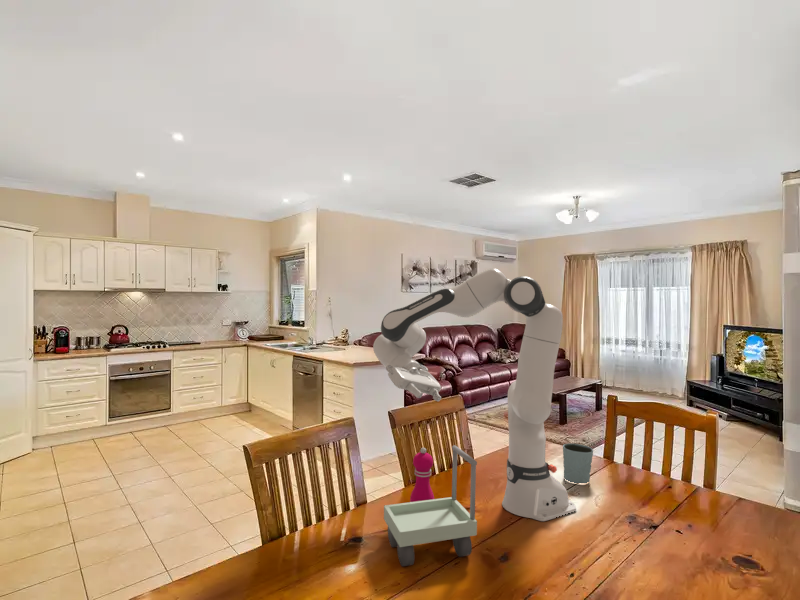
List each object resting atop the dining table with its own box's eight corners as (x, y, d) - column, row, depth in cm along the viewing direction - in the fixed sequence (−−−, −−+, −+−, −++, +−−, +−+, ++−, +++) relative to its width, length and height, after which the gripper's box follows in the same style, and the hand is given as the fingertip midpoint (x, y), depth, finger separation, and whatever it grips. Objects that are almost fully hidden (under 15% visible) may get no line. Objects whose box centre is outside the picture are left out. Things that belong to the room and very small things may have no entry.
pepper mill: (432, 522, 128) (433, 452, 128) (407, 519, 130) (409, 450, 130) (435, 510, 135) (436, 444, 135) (412, 507, 137) (413, 442, 137)
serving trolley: (452, 529, 124) (454, 443, 124) (476, 559, 110) (479, 461, 110) (382, 540, 118) (384, 449, 118) (399, 572, 104) (401, 469, 104)
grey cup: (556, 476, 164) (557, 444, 164) (579, 474, 167) (579, 442, 167) (574, 488, 154) (575, 453, 154) (598, 485, 157) (599, 451, 157)
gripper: (388, 356, 137) (414, 385, 127) (429, 367, 151) (454, 393, 142) (378, 372, 138) (402, 402, 128) (418, 382, 152) (443, 409, 143)
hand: (429, 397), depth 135 cm, fingers open, 8 cm apart
